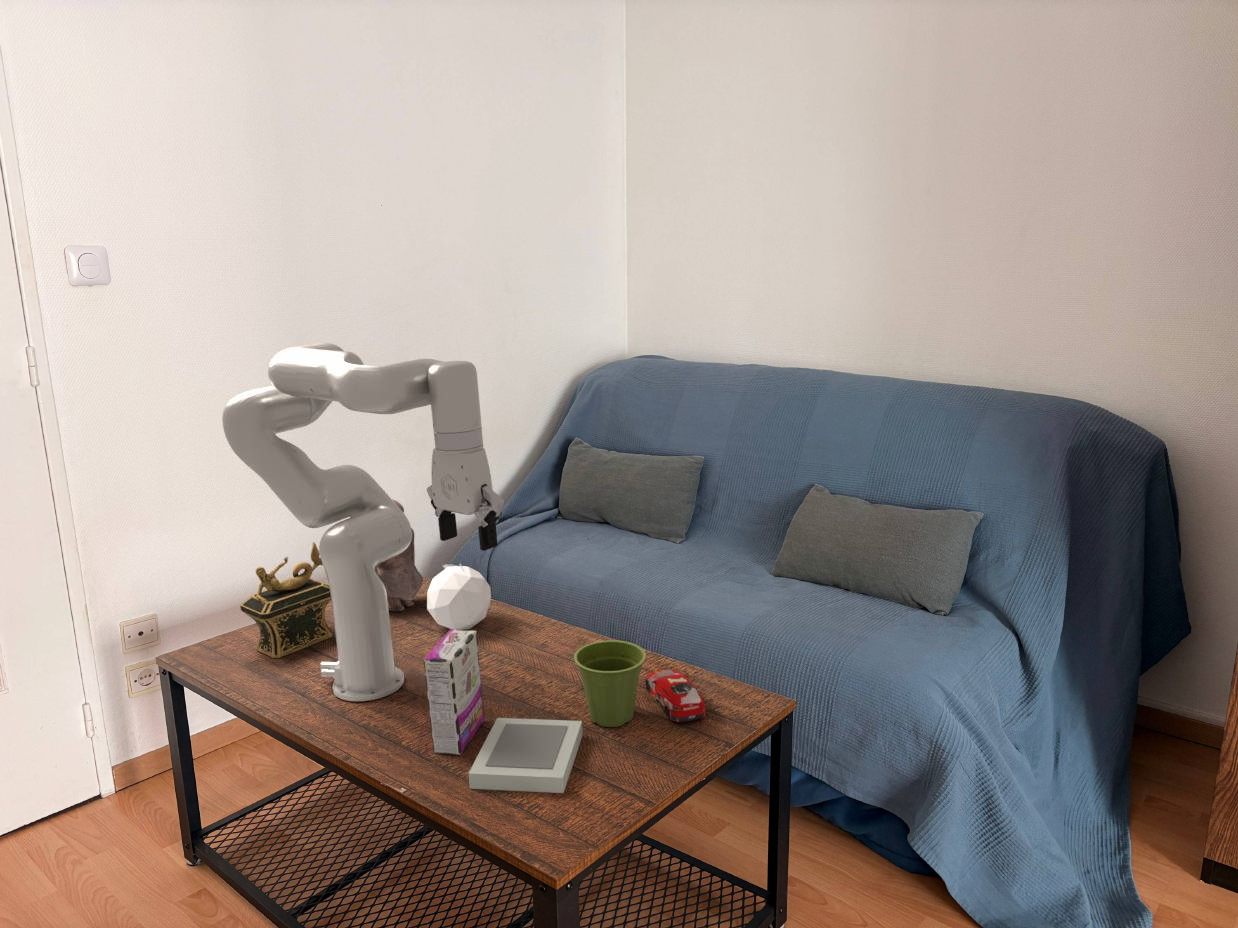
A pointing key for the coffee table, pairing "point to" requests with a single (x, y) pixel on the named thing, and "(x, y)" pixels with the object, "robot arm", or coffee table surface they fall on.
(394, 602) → the clay figurine
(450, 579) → the geodesic sphere
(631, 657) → the plant pot
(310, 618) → the decorative box
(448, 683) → the candy bar box
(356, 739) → the coffee table surface
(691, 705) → the race car
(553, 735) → the picture frame
